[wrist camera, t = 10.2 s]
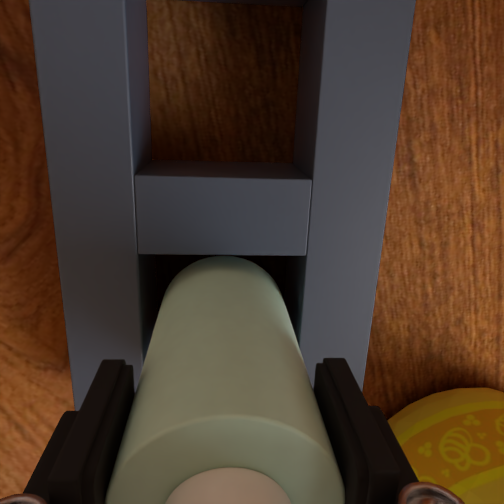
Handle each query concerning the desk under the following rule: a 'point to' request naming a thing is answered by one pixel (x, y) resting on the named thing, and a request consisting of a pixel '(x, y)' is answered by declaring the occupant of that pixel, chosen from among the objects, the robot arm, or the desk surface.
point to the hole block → (218, 178)
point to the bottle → (224, 400)
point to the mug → (456, 442)
